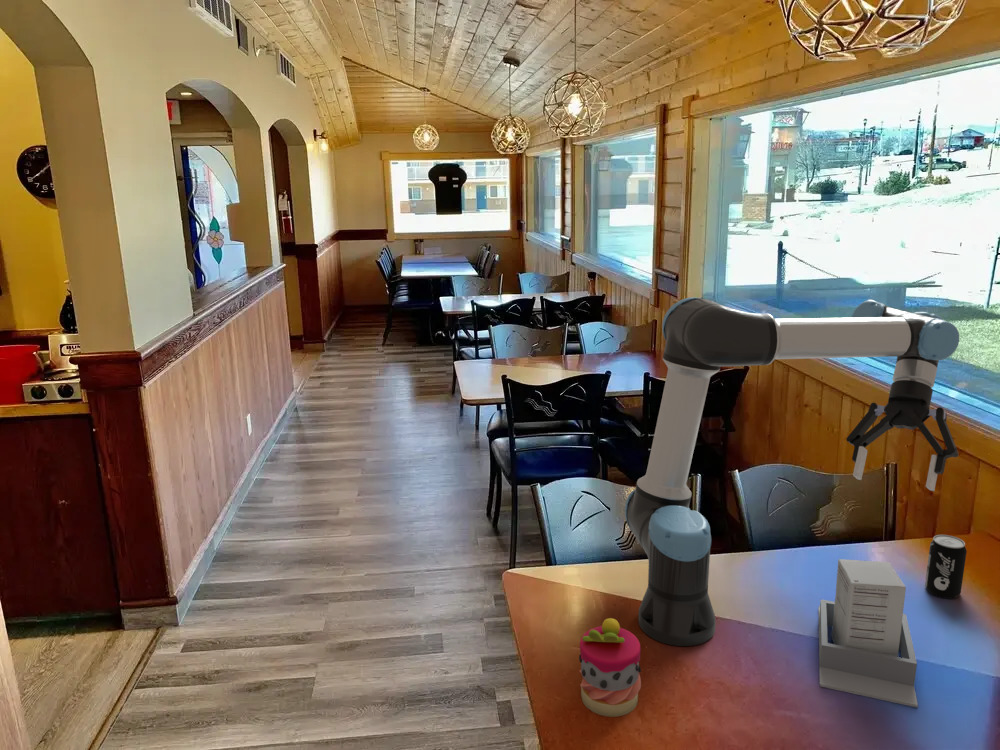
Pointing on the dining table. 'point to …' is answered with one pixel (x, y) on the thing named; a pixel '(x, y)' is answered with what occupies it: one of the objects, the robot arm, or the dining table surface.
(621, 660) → the cake
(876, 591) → the supplement box
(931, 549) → the beverage can
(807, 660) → the dining table surface
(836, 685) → the grey open box
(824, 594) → the dining table surface
